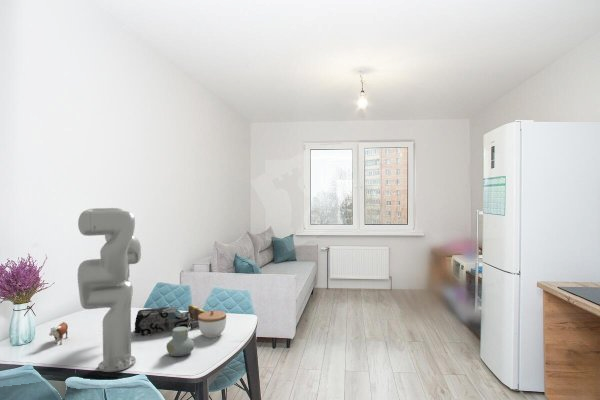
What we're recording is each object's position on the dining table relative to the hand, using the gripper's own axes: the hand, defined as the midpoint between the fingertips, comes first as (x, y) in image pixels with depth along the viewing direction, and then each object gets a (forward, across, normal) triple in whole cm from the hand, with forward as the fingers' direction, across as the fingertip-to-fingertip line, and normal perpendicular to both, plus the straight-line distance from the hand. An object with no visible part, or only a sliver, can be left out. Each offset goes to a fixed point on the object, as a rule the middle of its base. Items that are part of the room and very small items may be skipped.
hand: (120, 313), depth 168 cm
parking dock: (+11, +2, -34) cm, 35 cm away
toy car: (+12, +1, -19) cm, 22 cm away
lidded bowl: (+12, -21, -33) cm, 41 cm away
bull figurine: (+12, +17, +20) cm, 29 cm away
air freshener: (+13, -31, -14) cm, 37 cm away
